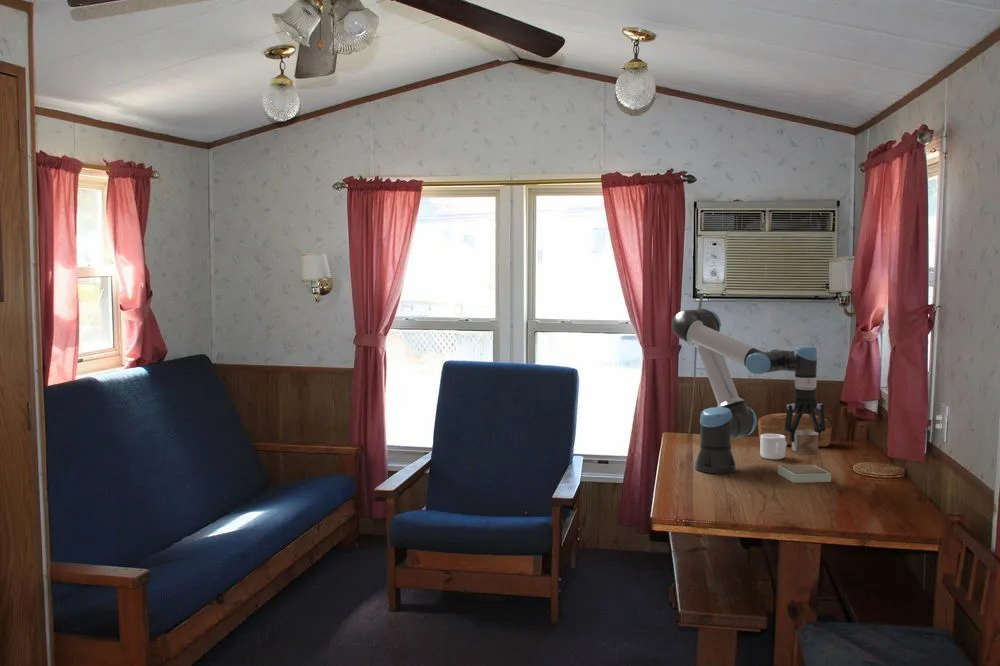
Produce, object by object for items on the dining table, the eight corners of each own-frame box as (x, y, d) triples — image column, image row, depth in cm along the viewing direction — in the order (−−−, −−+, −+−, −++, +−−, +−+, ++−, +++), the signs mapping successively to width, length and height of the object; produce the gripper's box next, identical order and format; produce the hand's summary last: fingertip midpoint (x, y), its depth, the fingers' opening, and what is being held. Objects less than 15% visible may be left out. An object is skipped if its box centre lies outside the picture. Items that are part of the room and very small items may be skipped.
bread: (757, 439, 385) (758, 410, 384) (830, 443, 375) (831, 413, 374) (756, 444, 374) (757, 414, 373) (832, 448, 364) (832, 417, 363)
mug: (792, 461, 340) (792, 439, 340) (766, 461, 340) (766, 439, 340) (781, 455, 352) (782, 433, 352) (757, 455, 352) (757, 433, 352)
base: (793, 482, 307) (793, 473, 307) (777, 473, 321) (777, 464, 320) (830, 481, 308) (831, 472, 308) (813, 472, 322) (813, 463, 322)
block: (799, 455, 310) (799, 433, 309) (791, 451, 317) (791, 430, 316) (818, 454, 310) (818, 433, 310) (809, 450, 317) (810, 429, 317)
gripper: (783, 390, 307) (782, 453, 309) (836, 389, 309) (835, 451, 311) (774, 387, 315) (774, 448, 316) (827, 386, 316) (826, 447, 318)
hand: (804, 450), depth 313 cm, fingers closed on block, 7 cm apart
